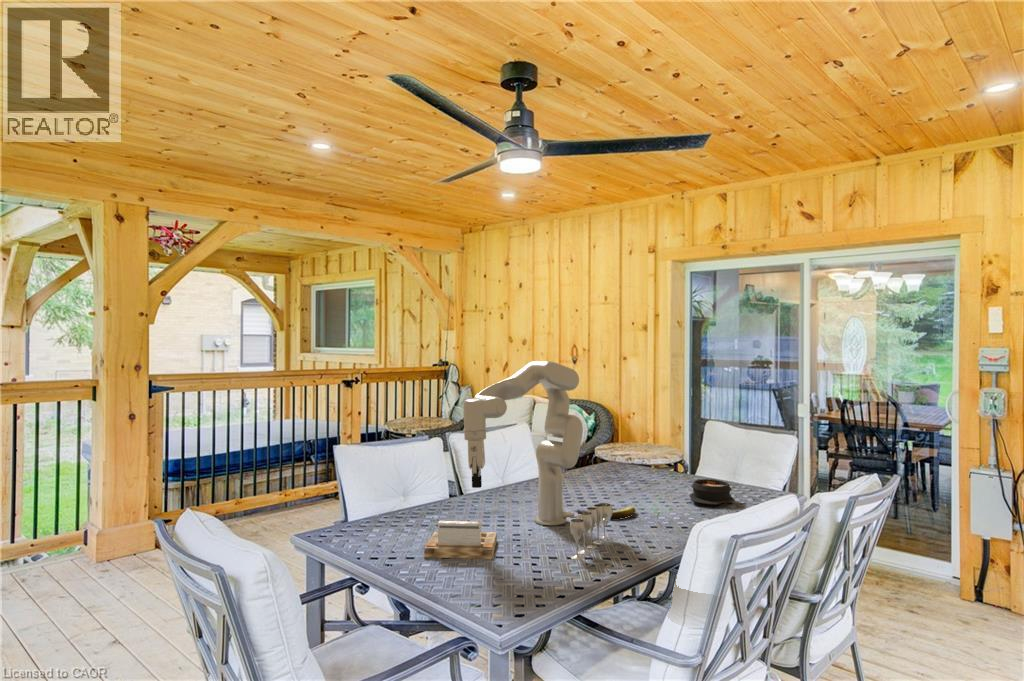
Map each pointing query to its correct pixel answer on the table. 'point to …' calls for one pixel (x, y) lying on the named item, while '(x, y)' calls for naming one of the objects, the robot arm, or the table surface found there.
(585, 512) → the goblet set
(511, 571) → the table surface
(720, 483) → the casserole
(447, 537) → the blanking panel
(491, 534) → the rack
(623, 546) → the table surface
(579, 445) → the robot arm
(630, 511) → the yellow brown curved block
